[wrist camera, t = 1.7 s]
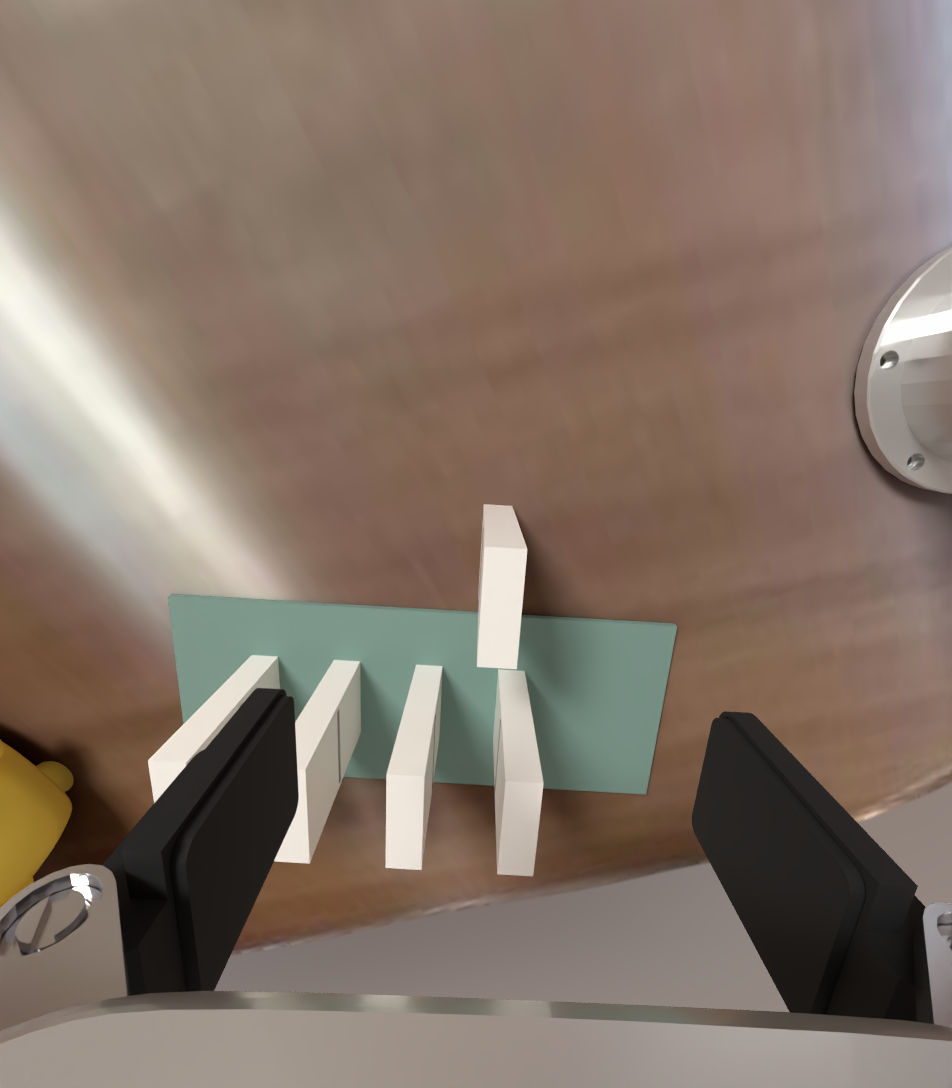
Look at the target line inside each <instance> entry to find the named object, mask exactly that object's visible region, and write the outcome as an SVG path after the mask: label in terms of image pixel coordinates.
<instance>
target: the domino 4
mask: <svg viewBox="0 0 952 1088" xmlns="http://www.w3.org/2000/svg"><path fill="white" fill-rule="evenodd" d="M526 559H527V547H526V544H525V541H524V538H523V535H522V532H521V529H520V527H519V524H518V521H517V518H516V515H515V512H514V509H513V507H512V506H503V505H486V504H484V510H483V526H482V542H481V558H480V574H479V593H478V637H477V667H486V668H504V669H517V660H518V649H519V638H520V627H521V615H522V604H523V593H524V582H525V571H526Z"/></svg>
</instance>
